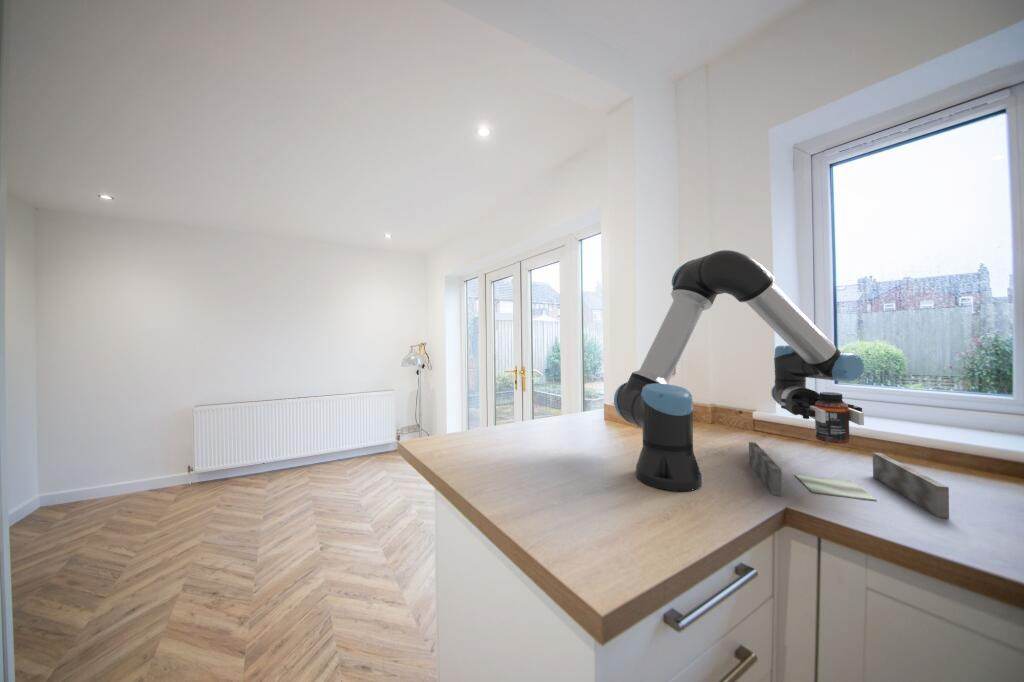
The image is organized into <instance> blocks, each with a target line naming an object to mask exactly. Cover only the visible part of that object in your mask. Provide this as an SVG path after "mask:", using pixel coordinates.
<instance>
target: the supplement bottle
mask: <svg viewBox="0 0 1024 682" xmlns="http://www.w3.org/2000/svg"><path fill="white" fill-rule="evenodd" d="M819 394H820V399H819V400H818V401H817V402H816V403H815V407H817V408H820V409H822V410H824V411H825V413H826V423H821V422H819V421H817V420H815V419H814V431H815V433H814V434H815V438H816V439H817V440H818V441H821V442H824V443H828V444H829V443H830V444H837V445H838V444H839V445H841V444H842V445H843V444H849V442H850V421H849V408H848V405H847V404H848V403H847V404H846V402H845V401H843V393H839V392H835V391H821V392H819ZM844 402H845V403H844Z"/></svg>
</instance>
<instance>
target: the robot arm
mask: <svg viewBox="0 0 1024 682" xmlns="http://www.w3.org/2000/svg"><path fill="white" fill-rule="evenodd" d="M671 286H672V288H671V289H672V290H671V293H670V295H671V298H672V303H671V305H670V307H669V309H668V311H667V312H666V315H665V317H664V319H663V321H662V323H661V325H660V327H659V330H658V331H657V333H656V335H655V337H654V340H653V342H652V344H651V346H650V347H649V350H648V352H647V353H646V356H645V357H644V360H643V362H642V364H641V366H640V368H639V369H637V370H635V371H633V372H632V373H631V374H630V376H629V378H628V380H627V381H626V382H625V383H622V384H621V385H619V386H618V388H617V389H616V390H615V393H614V396H613V405H614V408H615V411H616V412H617V414H618V415H619V416H620V417H621V418H622V419H624V420H625V421H626V422H629V423H630V424H633V425H636V426H637V427H640V428H642V447H641V451H640V454H639V455H638V456H639V457H638V459H637V463H636V466H635V477H636V479H638V481H640V482H641V481H642V483H643V482H644V483H643V484H645V483H646V484H645V485H647V484H648V485H647V486H650V485H651V486H650V487H652V486H654V487H653V488H656V487H657V488H656V489H660V488H661V489H660V490H664V489H667V490H666V491H671V490H677V491H676V492H682V491H681V490H690V491H693V490H692V489H695V490H697V489H696V488H698V487H699V488H701V487H702V485H701V484H702V472H701V470H700V468H699V464H698V461H697V459H696V455H695V453H694V415H693V414H694V404H693V403H694V402H693V396H692V394H691V391H690V390H688V389H686V388H685V387H682V386H679V385H674V384H669V382H670V379H671V378H672V376H673V373H674V371H675V370H676V368H677V365H678V363H679V361H680V359H681V356H682V355H683V353H684V351H685V349H686V347H687V345H688V342H689V341H690V338H691V336H692V335H693V332H694V330H695V328H696V326H697V324H698V322H699V320H700V318H701V315H702V314H703V312H704V311H707V310H709V309H711V308H712V306H713V303H714V301H715V299H716V298H717V296H718V295H722V294H728V295H730V296H732V297H734V298H735V299H736V300H737V301H738V302H739V303H746V304H747V305H748V306H749V307H750V308H751V309H752V310H753V311H754V312H755V313H756V314H757V315H758V316H759V317H760V318H761V319H762V320H763V321H764V322H765V323H766V324H767V325H768V326H769V327H770V328H771V329H772V330H773V331H774V332H775V333H776V334H777V335H779V337H780V338H781V339H782V340H783V341H784V342H785V343H786V344H787V345H783V344H782V345H777V346H776V347H775V348H774V357H773V361H774V385H773V387H772V388H771V390H770V391H771V393H770V394H771V397H772V399H773V400H774V402H775V403H777V404H778V405H780V408H781V409H784V410H786V411H787V412H789V413H790V414H792V415H794V416H802V419H804V420H810V418H811V419H814V421H815V420H817V421H819V422H821V423H826V413H825V411H824V410H822V409H820V408H817V407H815V403H816V402H817V401H818V400H819V399H820V392H817V391H815V390H813V389H809V388H807V385H806V384H807V378H810V379H819V380H828V381H835V382H855V381H857V380H858V379H860V378H861V376H862V375H863V373H864V371H865V363H864V360H863V359H862V357H861V356H859V355H858V354H856V353H849V352H842V351H841V350H840V349H839V348H838V347H837V346H836V345H835V344H834V343H833V342H832V341H831V340H830V339H829V338H828V337H827V335H825V333H824V332H822V331H821V330H820V329H819V328H818V327H817V325H815V324H814V323H813V322H812V320H810V318H809V317H807V316H806V314H804V313H803V311H801V309H800V308H798V306H796V304H794V302H793V301H791V299H790V298H789V297H788V296H787V295H786V294H785V293H784V292H783V291H782V290H781V289H780V288H779V287H778V286H777V285H776V284H775V276H774V275H773V274H772V273H771V272H770V271H769V270H767V268H765V266H763V265H762V264H761V263H759V262H758V261H756V260H755V259H753V258H751V257H750V256H748V255H746V254H744V253H741V252H739V251H735V250H729V249H728V250H727V249H726V250H725V249H724V250H719V251H718V250H717V251H714V252H712V253H710V254H707V255H705V256H702V257H698V258H695V259H692V260H688V261H686V262H685V263H684V264H681V266H679V267H678V268H677V269H676V270H675V271H674V273H673V275H672V278H671ZM843 402H844V403H846V402H845V401H843ZM846 404H847V405H848V408H849V422H852V423H853V424H855V425H856V424H857V425H858V426H864V425H865V418H864V417H865V415H864V414H865V413H864V412H863V407H860V406H856V405H854V404H850V403H846ZM699 488H698V489H699ZM678 490H680V491H678Z"/></svg>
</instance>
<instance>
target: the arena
mask: <svg viewBox="0 0 1024 682" xmlns="http://www.w3.org/2000/svg"><path fill="white" fill-rule="evenodd" d="M748 464H749V465H750V466H751V468H752V470H754V472H755V473H756V475H757V476H758V477H759V478H760V480H761V481H762V483H764V484H763V485H765V487H767V489H768V491H769V492H770V493H771V495H772V496H778V497H782V494H783V493H782V492H783V491H782V468H781V467H780V466H778V464H777V463H776V462H775V461H774V460H773V459H772V458H771V457H770V456H769V455H768V454H767V453H766V452H765V450H763V448H761V447H760V446H759V444H758V443H757V442H754V441H753V442H751V441H748ZM794 476H795V477H796V479H798V480H799V482H801V483H802V484H803V486H805V487H806V488H807V489H808V491H810V492H811V493H812V494H818V495H827V496H834V497H835V496H836V497H842V498H843V497H844V498H848V499H849V498H851V499H857V500H858V499H859V500H865V501H866V500H867V501H875V502H877V500H878V499H877V498H875V497H874V496H873V495H871V494H870V493H868V492H867V491H866V490H865V489H863V488H861V487H860V486H859V485H858V484H856V483H854V482H853V481H852V480H850V479H849V480H848V479H839V478H830V477H824V476H823V477H822V476H821V477H820V476H814V475H813V476H812V475H805V474H804V475H803V474H794ZM872 476H873V477H874V478H875V479H877V480H878V481H880V482H882V483H883V484H885V485H887V486H888V487H890V488H891V489H892V490H894V491H896V492H897V493H899V494H901V496H902V495H903V496H904V497H905V496H906V498H907V497H908V498H907V499H909V500H910V501H911V502H913V501H914V503H915V504H917V505H918V504H919V505H918V506H919V507H921V506H922V507H921V508H923V509H924V508H925V510H926V511H928V512H930V514H933V515H934V516H936V518H937V517H938V518H945V519H950V494H949V493H950V492H949V491H950V490H949V487H948V486H947V485H945V484H943V483H941V482H939V481H937V480H935V479H933V478H931V477H929V476H927V475H925V474H923V473H921V472H919V471H917V470H915V469H913V468H911V467H909V466H908V465H905V464H903V463H901V462H900V461H898V460H895V459H893V458H892V457H889V456H888V455H886V454H884V453H881V452H872Z"/></svg>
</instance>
